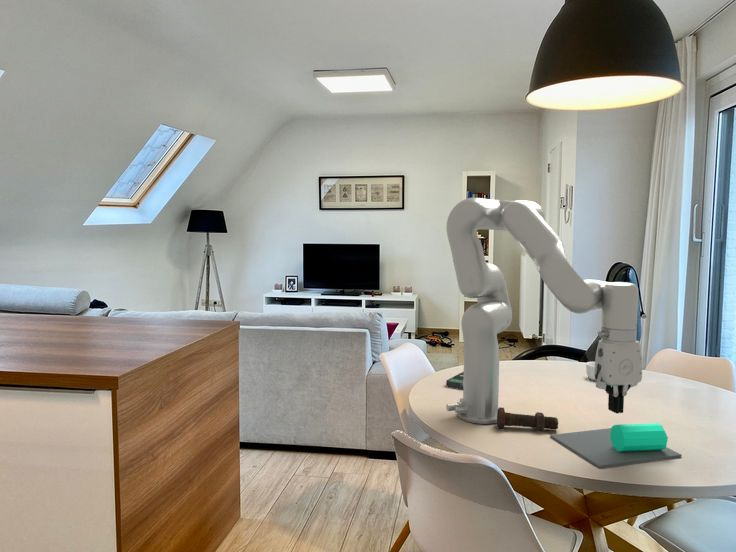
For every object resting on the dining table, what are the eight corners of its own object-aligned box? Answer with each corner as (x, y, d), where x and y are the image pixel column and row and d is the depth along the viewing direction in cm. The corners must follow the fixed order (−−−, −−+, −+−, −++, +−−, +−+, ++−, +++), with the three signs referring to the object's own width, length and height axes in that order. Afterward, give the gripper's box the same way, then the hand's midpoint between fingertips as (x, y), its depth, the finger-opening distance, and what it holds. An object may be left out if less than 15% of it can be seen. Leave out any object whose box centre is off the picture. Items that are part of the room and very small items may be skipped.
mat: (599, 468, 116) (599, 465, 116) (550, 437, 133) (550, 434, 133) (681, 457, 122) (681, 454, 122) (624, 428, 139) (624, 426, 139)
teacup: (583, 380, 184) (584, 365, 183) (587, 375, 190) (588, 360, 190) (615, 385, 178) (616, 369, 178) (618, 379, 185) (619, 364, 184)
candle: (612, 419, 126) (660, 418, 127) (608, 441, 128) (655, 439, 129) (626, 434, 120) (676, 432, 121) (622, 457, 122) (671, 455, 123)
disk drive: (464, 378, 188) (445, 388, 176) (464, 370, 188) (445, 379, 176) (492, 383, 183) (475, 393, 170) (492, 374, 182) (475, 384, 170)
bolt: (557, 439, 137) (497, 433, 140) (554, 423, 141) (496, 418, 144) (560, 423, 134) (499, 418, 136) (558, 408, 138) (498, 403, 140)
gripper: (602, 339, 120) (599, 419, 121) (657, 336, 124) (653, 413, 125) (580, 333, 127) (578, 409, 129) (633, 330, 131) (630, 403, 132)
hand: (615, 411), depth 127 cm, fingers closed
